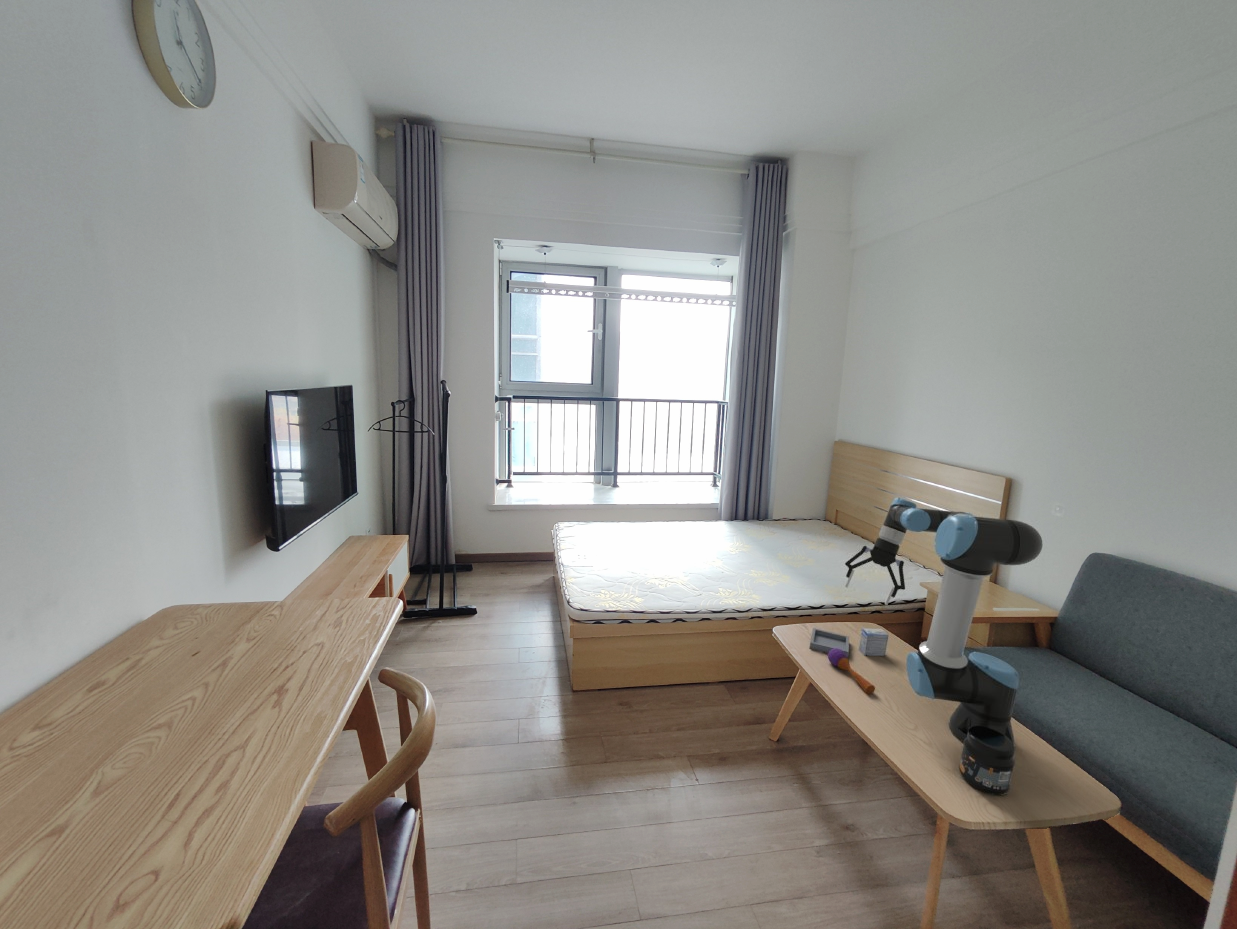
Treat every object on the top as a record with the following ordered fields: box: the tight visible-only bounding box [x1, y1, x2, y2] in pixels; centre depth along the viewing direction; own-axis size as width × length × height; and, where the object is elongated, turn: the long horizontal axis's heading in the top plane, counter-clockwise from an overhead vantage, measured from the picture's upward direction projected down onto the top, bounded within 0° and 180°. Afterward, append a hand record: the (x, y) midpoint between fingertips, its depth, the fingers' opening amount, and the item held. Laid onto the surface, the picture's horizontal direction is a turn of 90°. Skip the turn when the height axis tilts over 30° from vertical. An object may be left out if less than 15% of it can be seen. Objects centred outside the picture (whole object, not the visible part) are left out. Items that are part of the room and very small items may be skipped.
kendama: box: [827, 648, 876, 695], centre depth 173 cm, size 6×6×20 cm
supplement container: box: [958, 726, 1016, 796], centre depth 128 cm, size 10×10×12 cm
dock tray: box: [809, 627, 850, 659], centre depth 193 cm, size 13×13×2 cm
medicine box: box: [858, 628, 889, 657], centre depth 188 cm, size 8×4×9 cm, turn 93°
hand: (865, 595), depth 184 cm, fingers open, 13 cm apart
